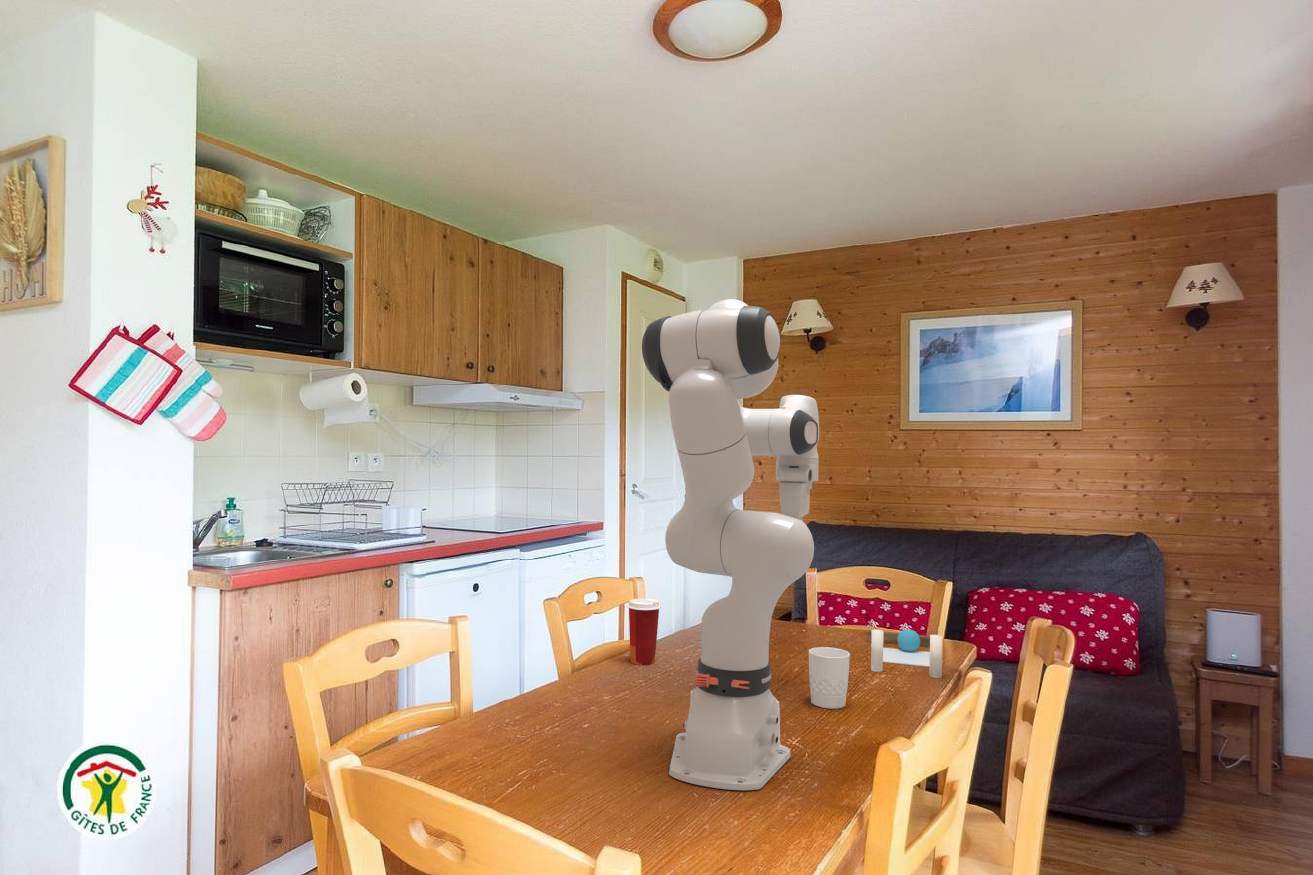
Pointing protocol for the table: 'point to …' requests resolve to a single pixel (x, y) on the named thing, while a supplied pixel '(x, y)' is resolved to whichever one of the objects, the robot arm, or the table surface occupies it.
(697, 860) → the table surface
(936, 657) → the post right
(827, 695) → the white cup
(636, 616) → the paper cup
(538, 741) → the table surface
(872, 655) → the post left
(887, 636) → the stopper wall
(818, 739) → the table surface
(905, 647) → the ball
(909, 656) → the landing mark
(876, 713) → the table surface
